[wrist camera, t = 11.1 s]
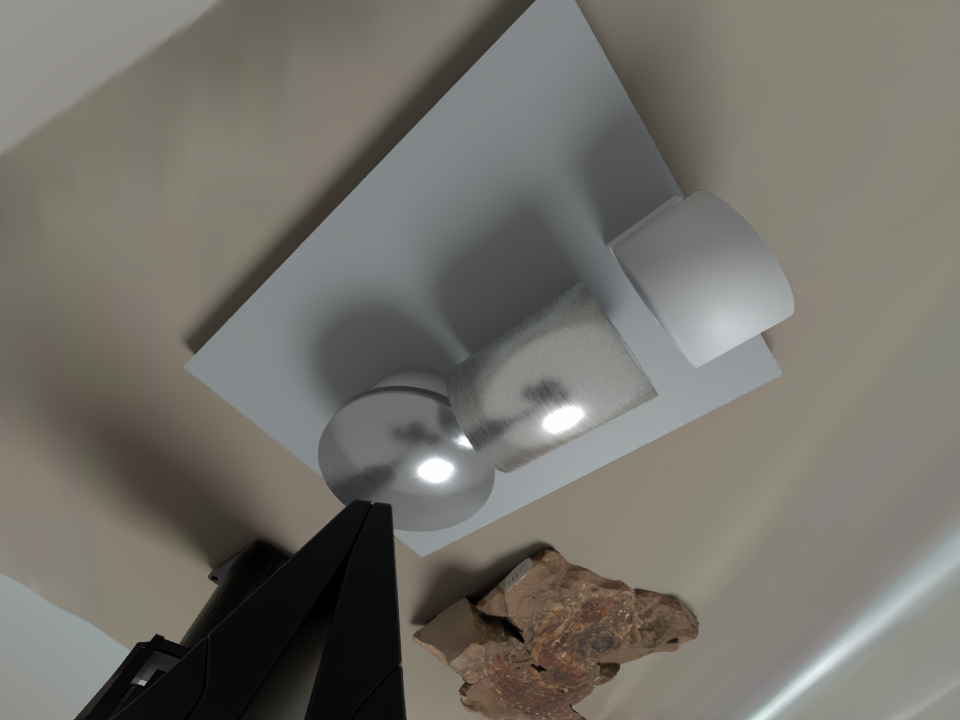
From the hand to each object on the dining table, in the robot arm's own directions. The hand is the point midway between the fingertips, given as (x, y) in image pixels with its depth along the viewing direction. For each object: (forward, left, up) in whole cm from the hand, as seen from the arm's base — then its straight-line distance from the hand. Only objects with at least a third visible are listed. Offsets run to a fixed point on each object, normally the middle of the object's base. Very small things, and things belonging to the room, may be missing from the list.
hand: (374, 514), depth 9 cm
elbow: (-1, -3, -10) cm, 11 cm away
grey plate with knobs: (-1, -2, -12) cm, 12 cm away
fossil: (-11, -25, -12) cm, 30 cm away
